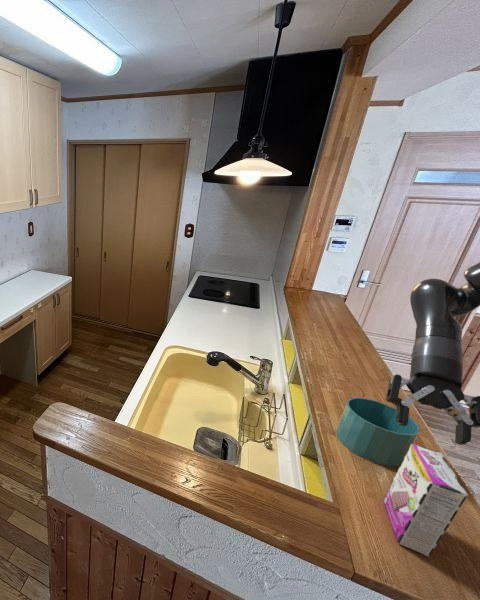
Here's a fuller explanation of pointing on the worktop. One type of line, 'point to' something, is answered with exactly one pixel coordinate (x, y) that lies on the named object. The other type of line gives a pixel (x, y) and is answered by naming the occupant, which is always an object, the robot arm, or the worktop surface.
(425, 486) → the candy bar box
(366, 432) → the bucket
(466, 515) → the worktop surface
